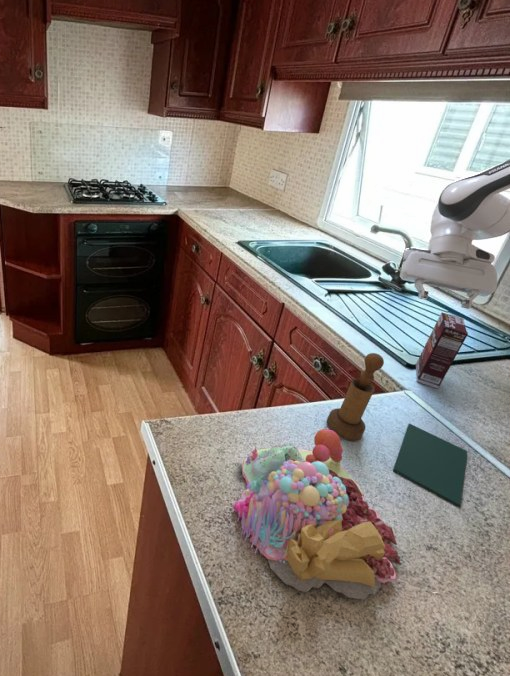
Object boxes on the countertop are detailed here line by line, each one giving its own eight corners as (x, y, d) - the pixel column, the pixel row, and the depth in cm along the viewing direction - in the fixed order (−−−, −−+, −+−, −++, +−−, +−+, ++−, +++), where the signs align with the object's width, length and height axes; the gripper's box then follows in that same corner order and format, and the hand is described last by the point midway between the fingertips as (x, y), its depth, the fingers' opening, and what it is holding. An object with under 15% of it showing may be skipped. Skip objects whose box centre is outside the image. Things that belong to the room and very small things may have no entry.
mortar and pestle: (321, 426, 81) (351, 352, 73) (333, 411, 85) (363, 340, 77) (355, 446, 77) (391, 371, 69) (366, 430, 81) (402, 357, 73)
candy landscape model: (432, 588, 55) (464, 548, 51) (277, 620, 50) (298, 578, 45) (322, 444, 76) (338, 407, 72) (206, 455, 71) (216, 416, 67)
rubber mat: (408, 424, 84) (409, 423, 83) (466, 452, 78) (467, 451, 78) (392, 470, 72) (393, 469, 72) (459, 507, 67) (460, 505, 67)
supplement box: (414, 364, 104) (440, 311, 97) (435, 371, 102) (464, 318, 95) (415, 381, 98) (444, 325, 91) (438, 389, 96) (470, 333, 88)
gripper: (409, 240, 104) (403, 288, 100) (502, 256, 99) (500, 308, 95) (398, 251, 110) (392, 297, 106) (486, 267, 104) (483, 316, 100)
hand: (444, 303), depth 100 cm, fingers open, 8 cm apart
